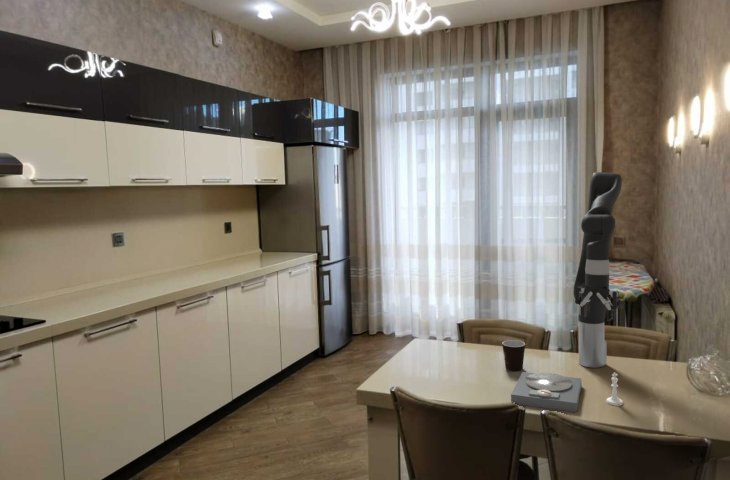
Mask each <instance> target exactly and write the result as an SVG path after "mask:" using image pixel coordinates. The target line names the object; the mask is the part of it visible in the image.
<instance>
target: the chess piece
mask: <svg viewBox="0 0 730 480" xmlns="http://www.w3.org/2000/svg"><path fill="white" fill-rule="evenodd" d="M611 376H612V377H611V378H610V380H611V382H612V383H611V385H610V386H611V387H612V392H611V396H610V397H607V398H606V400H605V401H606V403H607V405H608V404H609V405H610V406H615V407H616V406H617V407H618V406H619V407H620V406H623V405H624V401H623V400H622V398H619V397H618V389H617V388H618V387H619V385H618V381H619V379H618V378H617V377H618V373H617V372H613V373H612V374H611Z"/></svg>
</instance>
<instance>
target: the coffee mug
mask: <svg viewBox="0 0 730 480" xmlns="http://www.w3.org/2000/svg"><path fill="white" fill-rule="evenodd" d="M501 343H502V344H501V345H502V351H503V352H502V353H503V358H504V359H503V360H504V366H505V367H504V368H505V370H507V371H509V372H521V371H522V370H523V368H524V361H525V360H524V359H525V349H526V343H525V342H524V341H521V340H517V339H516V340H515V339H513V340H512V339H510V340H509V339H507V340H505V341H502V342H501Z"/></svg>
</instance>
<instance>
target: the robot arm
mask: <svg viewBox="0 0 730 480" xmlns="http://www.w3.org/2000/svg"><path fill="white" fill-rule="evenodd" d="M622 184H623V179H622V176H621V175H620V173H615V172H603V171H602V172H601V171H600V172H599V171H595V172H593V173H592V175H591V177H590V181H589V192H588V193H589V194H588V205H587V213H586V214H584V215H583V217H582V220H581V223H580V228H581V231H582V232H583V238H582V244H581V246H582V247H581V252H580V257H579V264H578V267H577V272H576V276H575V280H574V284H573V298H574V302H575V304H576V305H579V306H580V312H579V313H578V364H579V365H580V366H583V367H585V368H593V369H594V368H602V367H603V368H604V366H606V365H607V364H608V362H607V352H608V351H607V349H608V348H607V347H608V346H607V342H608V341H607V340H606V339H605V319H606V321H607V322H610V321H612V320H613V319H614V310H617V309H619V308H620V291H618V290H610V262H609V261H610V258H609V257H610V256H609V254H610V243H611V240H612V236H613V233H614V231H615V229H616V219H615V217H613V215H612V213H613V209H614V206H615V204H616V202H617V200H618V198H619V196H620V194H621V191H622ZM609 296H610V297H611V298H612V302H611V299H610V298H609ZM588 304H589V308H588Z"/></svg>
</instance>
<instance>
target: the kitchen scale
mask: <svg viewBox="0 0 730 480" xmlns="http://www.w3.org/2000/svg"><path fill="white" fill-rule="evenodd" d="M582 382H583V381H582V377H581V378H580V377H573V376H564V375H563V374H558V373H552V372H527V371H522V372H521V374H520V376H519V378H518V380H517V382H516V383H515V386H514V387H513V390H512V392H511V393H510V403H511V402H515V403H518V404H517V405H521V406H522V405H523V406H529V407H536V408H542V407H543V408H544V409H551V410H557V411H564V412H573V413H577V412H578V407H579V401H580V398H581V397H580V396H581V392H582V385H583V384H582Z"/></svg>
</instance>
